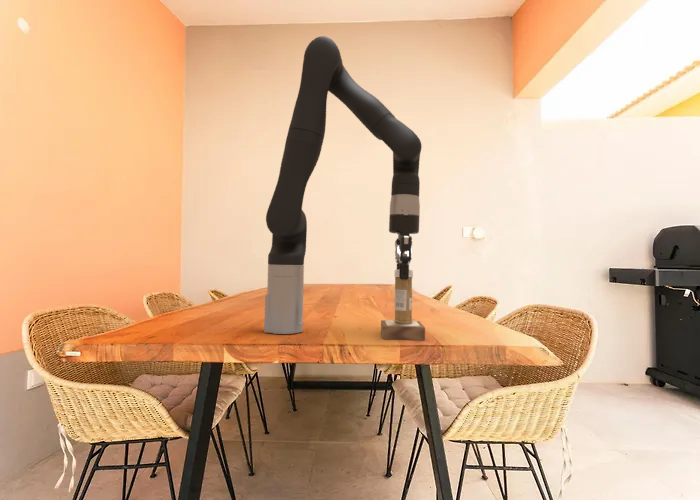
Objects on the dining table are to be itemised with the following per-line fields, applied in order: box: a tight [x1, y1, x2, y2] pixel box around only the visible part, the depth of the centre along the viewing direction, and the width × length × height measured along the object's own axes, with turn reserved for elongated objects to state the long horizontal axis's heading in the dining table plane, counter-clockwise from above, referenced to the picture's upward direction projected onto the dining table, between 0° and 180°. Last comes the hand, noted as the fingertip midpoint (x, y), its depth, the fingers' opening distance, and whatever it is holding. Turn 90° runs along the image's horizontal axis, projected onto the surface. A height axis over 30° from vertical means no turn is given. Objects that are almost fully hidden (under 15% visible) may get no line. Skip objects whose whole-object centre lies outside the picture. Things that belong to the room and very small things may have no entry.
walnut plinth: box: [380, 319, 426, 341], centre depth 103 cm, size 10×10×3 cm
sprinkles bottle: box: [394, 268, 414, 324], centre depth 103 cm, size 5×5×13 cm
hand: (402, 278), depth 103 cm, fingers open, 8 cm apart
